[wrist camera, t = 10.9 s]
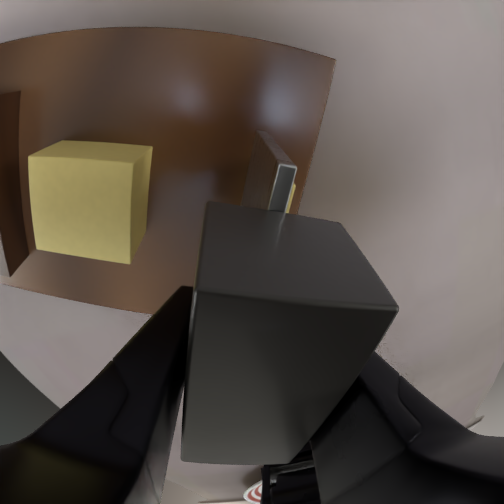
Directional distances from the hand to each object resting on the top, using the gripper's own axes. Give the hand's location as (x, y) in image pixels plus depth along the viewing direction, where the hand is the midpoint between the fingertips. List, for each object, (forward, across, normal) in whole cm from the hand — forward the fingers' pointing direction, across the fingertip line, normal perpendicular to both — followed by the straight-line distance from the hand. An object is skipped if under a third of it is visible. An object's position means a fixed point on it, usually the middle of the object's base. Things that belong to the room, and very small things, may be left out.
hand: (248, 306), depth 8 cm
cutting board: (+9, +8, 0) cm, 12 cm away
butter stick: (+8, +7, 0) cm, 10 cm away
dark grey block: (+4, 0, 0) cm, 4 cm away
